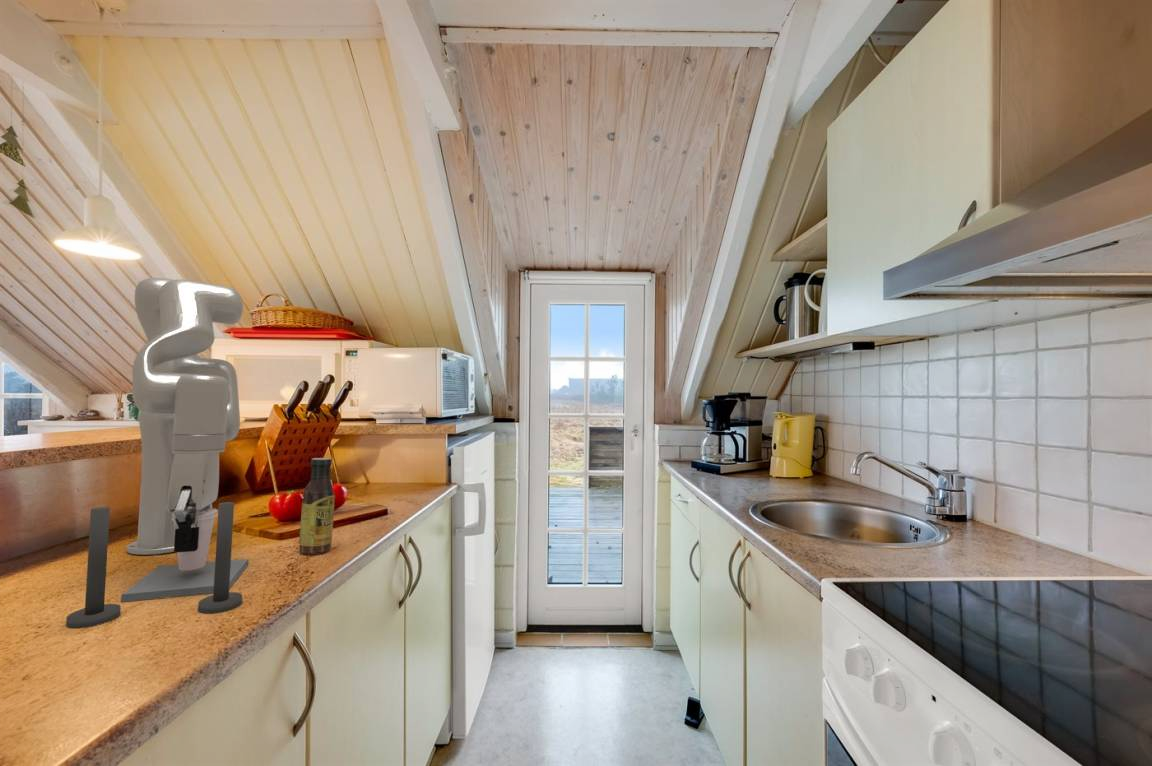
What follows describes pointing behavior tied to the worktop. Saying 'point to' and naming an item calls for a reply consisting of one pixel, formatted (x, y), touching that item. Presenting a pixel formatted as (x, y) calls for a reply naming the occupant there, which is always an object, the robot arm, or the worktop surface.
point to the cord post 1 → (96, 576)
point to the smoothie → (205, 530)
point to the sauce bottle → (317, 509)
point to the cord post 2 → (222, 566)
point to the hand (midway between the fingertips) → (193, 544)
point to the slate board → (180, 581)
